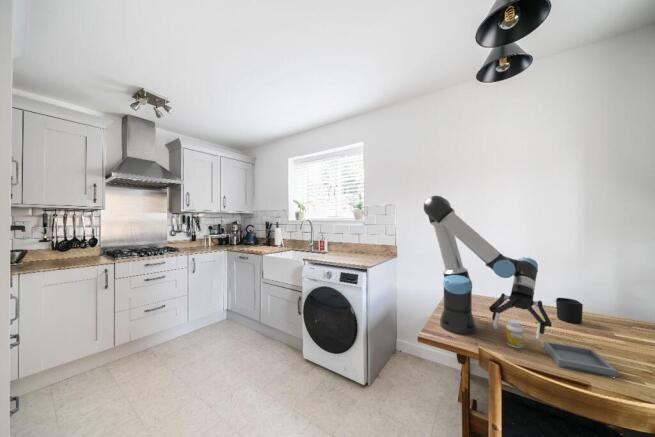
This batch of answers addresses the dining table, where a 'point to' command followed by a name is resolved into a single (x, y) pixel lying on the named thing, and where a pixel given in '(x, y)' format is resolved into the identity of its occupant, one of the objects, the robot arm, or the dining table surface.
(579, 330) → the dining table surface
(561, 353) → the tray
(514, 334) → the supplement bottle
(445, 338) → the dining table surface
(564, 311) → the pen holder
